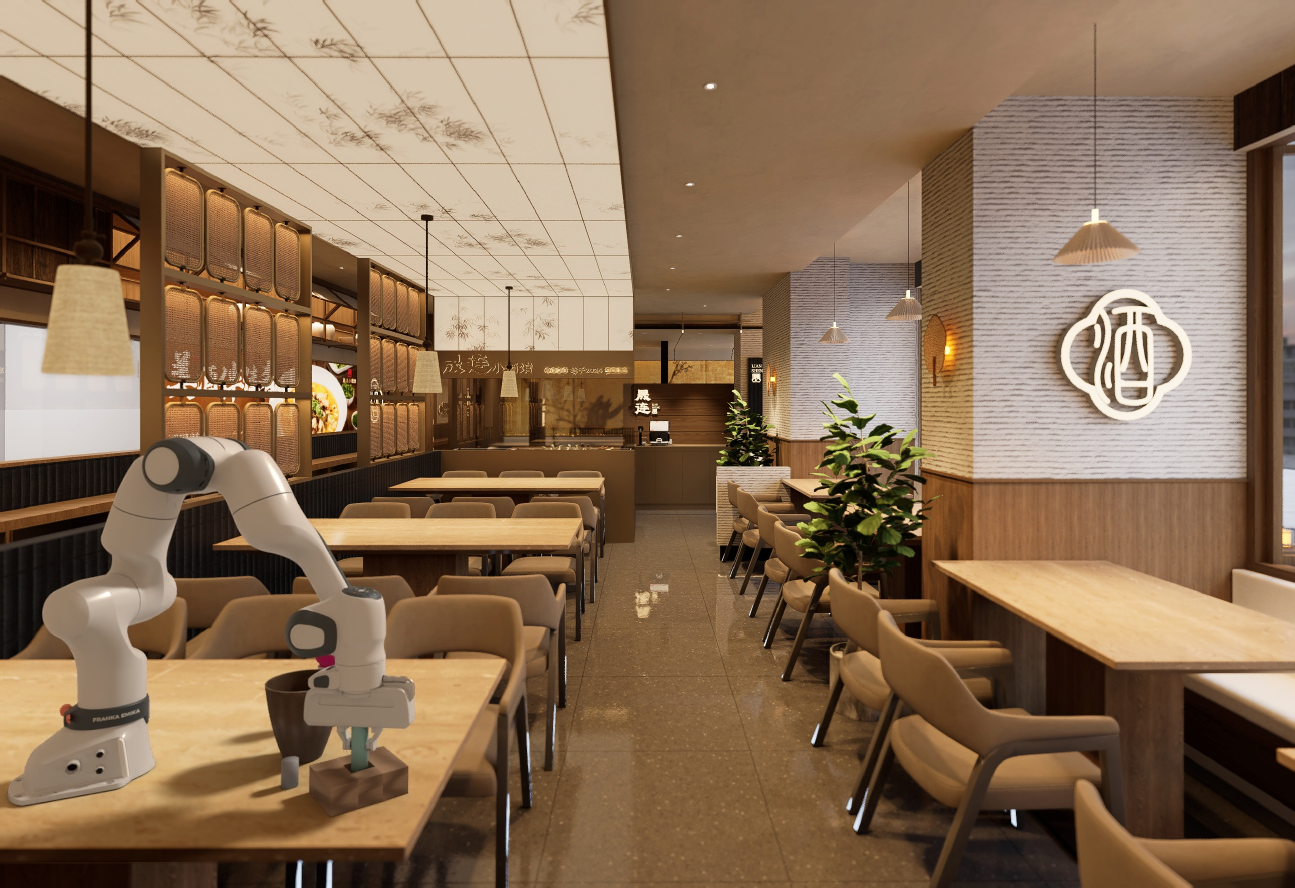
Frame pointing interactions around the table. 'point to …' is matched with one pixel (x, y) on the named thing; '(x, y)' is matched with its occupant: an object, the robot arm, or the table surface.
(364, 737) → the teal dowel
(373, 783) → the walnut block
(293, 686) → the plant pot
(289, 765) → the charcoal dowel
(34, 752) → the robot arm
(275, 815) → the table surface
